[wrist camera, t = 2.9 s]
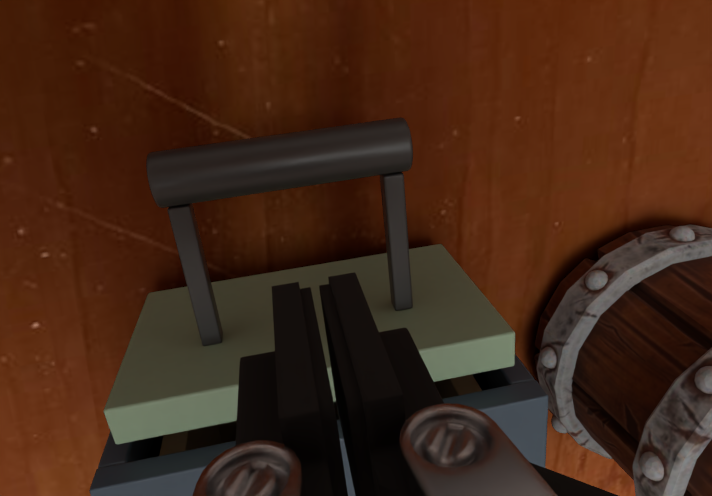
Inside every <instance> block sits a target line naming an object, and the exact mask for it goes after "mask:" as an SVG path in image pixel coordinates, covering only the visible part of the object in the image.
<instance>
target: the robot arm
mask: <svg viewBox="0 0 712 496" xmlns="http://www.w3.org/2000/svg"><path fill="white" fill-rule="evenodd" d="M328 280H329V284H325V285H319V290H320V297H321V303H322V310H323V317H324V324H325V330H326V337H327V344H328V350H329V357H330V364H331V371H332V377H333V384H334V391H335V397H336V403H337V409H338V414H339V419H340V424H341V429H342V433H343V438H344V443H345V448H346V453H347V458H348V462H349V467H350V472H351V477H352V482H353V487H354V491H355V496H618V495H615V494H612V493H610V492H607V491H605V490H602V489H599V488H597V487H594V486H591V485H589V484H586V483H583V482H581V481H578V480H575V479H573V478H570V477H567V476H565V475H562V474H559V473H557V472H554V471H552V470H549V469H546V468H544V467H541V466H538V465H536V464H533V463H530V462H529V461H528V460H527V459H526V458H525V457H524V455H523V454H522V453H521V452H520V451H519V449H518V448H517V447H516V446H515V445H514V444H513V442H512V441H511V440H510V439H509V438H508V436H507V435H506V434H505V433H504V432H503V431H502V429H501V428H500V427H499V426H498V425H497V423H496V422H495V421H494V420H492V419H491V418H490V417H489V416H488V415H487V414H485V413H484V412H482V411H479V410H477V409H475V408H473V407H470V406H466V405H461V404H450V403H444V402H443V400H442V398H441V396H440V394H439V392H438V390H437V388H436V386H435V384H434V381H433V379H432V377H431V375H430V373H429V371H428V369H427V367H426V365H425V363H424V361H423V359H422V357H421V355H420V353H419V351H418V349H417V347H416V345H415V343H414V341H413V339H412V337H411V335H410V333H409V331H408V329H407V328H399V329H394V330H388V331H383V332H379V331H378V329H377V326H376V324H375V321H374V319H373V316H372V314H371V311H370V308H369V306H368V303H367V301H366V298H365V296H364V293H363V291H362V288H361V286H360V283H359V280H358V278H357V275H356V273H355V272H354V273H348V274H342V275H336V276H330V277H328ZM272 304H273V322H274V341H275V351H273V352H267V353H262V354H256V355H250V356H245V357H241V358H240V367H239V386H238V405H237V425H236V444H235V446H234V447H232V448H230V449H227V450H226V451H224V452H223V453H221V454H220V455H218V456H217V457H215V458H214V459H213V460H212V461H211V462H210V463H209V464H208V465H207V466H206V468H205V469H204V470H203V471H202V473H201V475H200V477H199V479H198V481H197V483H196V486H195V489H194V492H193V495H192V496H348V492H347V485H346V478H345V472H344V465H343V458H342V452H341V445H340V439H339V432H338V425H337V419H336V413H335V407H334V402H333V396H332V391H331V386H330V381H329V376H328V371H327V366H326V362H325V357H324V352H323V347H322V342H321V337H320V332H319V327H318V322H317V317H316V312H315V307H314V302H313V297H312V292H311V287H308V288H302V289H300V287H299V282H294V283H288V284H282V285H276V286H272Z"/></svg>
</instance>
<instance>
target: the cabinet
mask: <svg viewBox="0 0 712 496" xmlns="http://www.w3.org/2000/svg"><path fill="white" fill-rule="evenodd" d="M472 375H473V376H474V378H475V380H476V381H477V383H478V385H479V386H480V388H481V390H482V391H479V392H474V393H469V394H464V395H459V396H454V397H449V398H444V399H442V400H443V402H444V403H450V404H461V405H466V406H470V407H473V408H475V409H477V410H479V411H482V412H484V413H485V414H487V415H488V416H489V417H490V418H491V419H492V420H494V421H495V422H496V423H497V425H498V426H499V427H500V428H501V429H502V431H503V432H504V433H505V434H506V435H507V436H508V438H509V439H510V440H511V441H512V442H513V444H514V445H515V446H516V447H517V448H518V449H519V451H520V452H521V453H522V454H523V455H524V457H525V458H526V459H527V460H528V461H529V462H530V463H533V464H536V465H538V466H541V467H544V468H545V459H546V438H547V416H548V395H547V394H546V392H545V391H544V390H543V388H542V387H541V386H540V385H539V383H538V382H537V381H536V380H535V379H534V378H533V376H532V375H531V374H530V372H529V371H528V370H527V369H526V367H525V366H524V365H523V363H522V362H521V361H520V360H519V358H518V357H517V356H516V354H515V364H514V366H511V367H506V368H501V369H496V370H491V371H486V372H481V373H476V374H472ZM337 425H338V432H339V439H340V445H341V452H342V458H343V465H344V472H345V478H346V485H347V492H348V496H355V491H354V487H353V482H352V477H351V472H350V467H349V462H348V458H347V453H346V448H345V443H344V438H343V433H342V429H341V424H340V420H337ZM162 439H163V436H158V437H153V438H148V439H143V440H138V441H133V442H128V443H123V444H115V441H114V439H113V436H112V433H111V431H110V434H109V437H108V440H107V443H106V446H105V449H104V451H103V454H102V457H101V460H100V463H99V466H98V469H97V470H96V473H95V476H94V479H93V482H92V485H91V487H90V494H91V496H192V495H193V492H194V489H195V486H196V483H197V481H198V479H199V477H200V475H201V473H202V471H203V470H204V469H205V468H206V466H207V465H208V464H209V463H210V462H211V461H212V460H213V459H214V458H215V457H217V456H218V455H220V454H221V453H223V452H224V451H226V450H227V449H230V448H232V447H234V446H235V444H236V441H231V442H226V443H221V444H216V445H211V446H206V447H202V448H197V449H192V450H187V451H182V452H177V453H172V454H167V455H162V456H159V453H160V448H161V444H162Z"/></svg>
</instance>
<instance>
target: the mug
mask: <svg viewBox="0 0 712 496" xmlns="http://www.w3.org/2000/svg"><path fill="white" fill-rule="evenodd" d="M597 251H598V258H599V260H597V261H593V260H590V259H587V258H585V259H584V260H583V261H582V262H581V263H580V264H579V265H578V266H577V267H576V268H575V269H574V270H573V271H572V272H571V273H570V274H568V275H567V276H566V277H565V278H564V279H563V280H562V281H561V282H560V284H559V286H558V287H557V289H556V291H555V293H554V294H553V296H552V298H551V299H550V301H549V303H548V305H547V306H546V308H545V310H544V312H543V313H542V315H541V317H540V321H539V326H538V331H537V336H536V341H535V346H536V347H537V348H538V349H539V350H540V353H538V354H536V355H535V357H534V358H535V363H536V369H537V374H538V379H539V384H540V386H541V387H542V388H543V390H544V391H545V392H546V394H547V395H548V409H549V410H550V411H551V413H552V414H553V417H552V421H551V422H552V426H553V428H554V429H555V430H556V431H558V432H560V433H567V432H568V433H569V434H570V435H571V436H572V437H573V438H574V440H575V441H576V442H577V443H578V444H579V445H581V446H583V447H585V448H587V449H589V450H591V451H593V452H596V453H598V454H600V455H602V456H604V457H606V458H608V459H614V460H615V461H616V462H617V463H618V464H619V466H620V467H621V468H622V469H623V470H624V471H625V472H626V473H627V474H628V475H629V476H630V477H631V478H632V479H633V480H634V484H635V493H636V496H712V228H707V227H702V226H696V225H691V224H690V225H685V226H678V227H676V226H671V225H665V226H659V227H654V228H649V229H644V230H638V231H633V232H629V233H627V234H625V235H623V236H621V237H619V238H617V239H616V240H614V241H612V242H610V243H608V244H606V245H604V246H603V247H601V248H599V249H598V250H597Z"/></svg>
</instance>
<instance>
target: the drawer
mask: <svg viewBox="0 0 712 496" xmlns="http://www.w3.org/2000/svg"><path fill="white" fill-rule="evenodd" d="M412 160H413V148H412V139H411V134H410V130H409V127H408V125H407V122H406V120H405V119H404V118H393V119H386V120H379V121H372V122H365V123H358V124H350V125H343V126H336V127H329V128H322V129H314V130H307V131H300V132H293V133H286V134H279V135H271V136H264V137H257V138H250V139H243V140H235V141H228V142H221V143H214V144H207V145H200V146H192V147H185V148H178V149H171V150H164V151H156V152H151V153H149V154H148V156H147V162H146V167H147V176H148V182H149V186H150V190H151V193H152V196H153V198H154V200H155V202H156V204H157V205H158V206H159V207H161V208H164V207H169V208H168V214H169V218H170V222H171V226H172V229H173V233H174V237H175V241H176V245H177V249H178V253H179V257H180V260H181V264H182V268H183V272H184V276H185V280H186V284H187V287H181V288H175V289H169V290H163V291H157V292H151V293H148V295H147V298H146V301H145V303H144V306H143V308H142V311H141V314H140V316H139V319H138V322H137V324H136V327H135V329H134V332H133V335H132V337H131V340H130V343H129V345H128V348H127V350H126V353H125V356H124V358H123V361H122V364H121V366H120V369H119V371H118V374H117V377H116V379H115V382H114V385H113V387H112V390H111V393H110V395H109V398H108V400H107V403H106V406H105V408H104V414H105V417H106V420H107V422H108V425H109V428H110V430H111V433H112V436H113V439H114V441H115V444H123V443H128V442H133V441H138V440H143V439H148V438H153V437H158V436H163V439H162V444H161V448H160V453H159V456H162V455H167V454H172V453H177V452H182V451H187V450H192V449H197V448H202V447H206V446H211V445H216V444H221V443H226V442H231V441H236V425H237V405H238V386H239V367H240V358H241V357H245V356H250V355H256V354H262V353H267V352H273V351H275V341H274V322H273V304H272V286H276V285H282V284H288V283H294V282H299V287H300V289H302V288H308V287H311V292H312V297H313V302H314V307H315V312H316V317H317V322H318V327H319V332H320V337H321V342H322V347H323V352H324V357H325V362H326V366H327V371H328V376H329V381H330V386H331V391H332V396H333V402H334V407H335V413H336V419H337V420H340V419H339V414H338V409H337V403H336V397H335V391H334V384H333V377H332V371H331V364H330V357H329V350H328V344H327V337H326V330H325V324H324V317H323V310H322V303H321V297H320V290H319V285H325V284H329V280H328V277H330V276H336V275H342V274H348V273H354V272H355V273H356V275H357V278H358V280H359V283H360V286H361V288H362V291H363V293H364V296H365V298H366V301H367V303H368V306H369V308H370V311H371V314H372V316H373V319H374V321H375V324H376V326H377V329H378V331H379V332H383V331H388V330H394V329H399V328H407V329H408V331H409V333H410V335H411V337H412V339H413V341H414V343H415V345H416V347H417V349H418V351H419V353H420V355H421V357H422V359H423V361H424V363H425V365H426V367H427V369H428V371H429V373H430V375H431V377H432V379H433V381H434V384H435V386H436V388H437V390H438V392H439V394H440V396H441V398H442V399H444V398H449V397H454V396H459V395H464V394H469V393H474V392H479V391H482V390H481V388H480V386H479V385H478V383H477V381H476V380H475V378H474V376H473V375H472V374H476V373H481V372H486V371H491V370H496V369H501V368H506V367H511V366H514V364H515V332H514V331H513V330H512V328H511V327H510V326H509V325H508V323H507V322H506V321H505V320H504V319H503V317H502V316H501V315H500V314H499V313H498V311H497V310H496V309H495V308H494V307H493V305H492V304H491V303H490V302H489V301H488V299H487V298H486V297H485V296H484V295H483V293H482V292H481V291H480V290H479V289H478V287H477V286H476V285H475V284H474V283H473V281H472V280H471V279H470V278H469V277H468V275H467V274H466V273H465V272H464V271H463V269H462V268H461V267H460V266H459V265H458V263H457V262H456V261H455V260H454V259H453V257H452V256H451V255H450V254H449V253H448V251H447V250H446V249H445V248H444V246H443V245H442V244H437V245H431V246H425V247H419V248H413V249H409V244H408V230H407V216H406V202H405V188H404V175H403V173H402V172H403V171H408V170H409V169H410V168H411V166H412ZM376 175H380V182H381V193H382V205H383V216H384V227H385V238H386V249H387V253H383V254H377V255H371V256H365V257H359V258H354V259H348V260H342V261H336V262H330V263H324V264H318V265H312V266H306V267H300V268H294V269H288V270H282V271H276V272H270V273H264V274H258V275H252V276H246V277H240V278H235V279H229V280H223V281H217V282H211V280H210V276H209V272H208V267H207V263H206V259H205V255H204V250H203V246H202V242H201V238H200V234H199V229H198V225H197V221H196V217H195V213H194V208H193V204H192V203H197V202H204V201H211V200H217V199H224V198H231V197H237V196H244V195H250V194H257V193H264V192H270V191H277V190H284V189H290V188H297V187H303V186H310V185H317V184H323V183H330V182H337V181H343V180H350V179H356V178H363V177H370V176H376Z"/></svg>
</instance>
